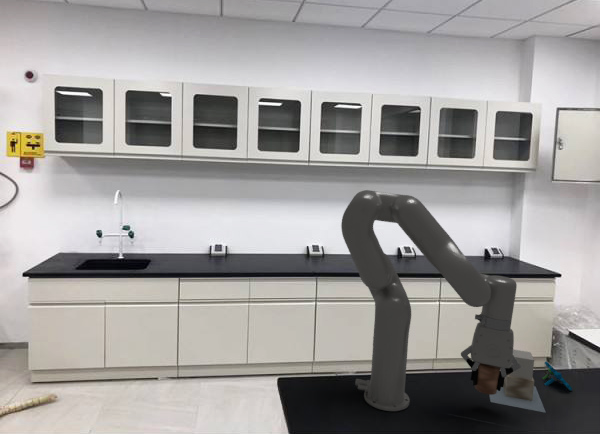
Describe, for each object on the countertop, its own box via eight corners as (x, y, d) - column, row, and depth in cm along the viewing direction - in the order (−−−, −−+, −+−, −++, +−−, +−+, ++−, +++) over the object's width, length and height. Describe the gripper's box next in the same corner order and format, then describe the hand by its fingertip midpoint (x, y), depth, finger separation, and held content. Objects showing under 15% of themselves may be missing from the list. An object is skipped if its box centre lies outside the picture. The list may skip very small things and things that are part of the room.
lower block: (505, 396, 130) (507, 376, 129) (503, 385, 137) (504, 366, 136) (532, 401, 128) (534, 381, 127) (528, 389, 134) (530, 371, 134)
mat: (490, 403, 126) (490, 401, 126) (486, 379, 141) (486, 377, 141) (545, 414, 122) (545, 412, 122) (535, 387, 137) (535, 386, 137)
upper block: (509, 376, 130) (511, 356, 129) (506, 367, 135) (508, 348, 135) (532, 380, 128) (534, 360, 127) (528, 371, 133) (530, 352, 133)
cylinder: (475, 391, 120) (479, 366, 119) (474, 382, 125) (477, 359, 124) (497, 396, 118) (501, 371, 117) (495, 387, 123) (499, 363, 122)
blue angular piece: (579, 392, 132) (554, 365, 134) (562, 404, 133) (538, 377, 134) (565, 380, 143) (543, 355, 144) (550, 391, 143) (528, 366, 145)
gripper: (462, 320, 118) (453, 384, 120) (533, 333, 113) (522, 400, 115) (461, 312, 125) (453, 373, 127) (528, 324, 120) (518, 387, 122)
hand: (486, 385), depth 121 cm, fingers closed on cylinder, 5 cm apart
